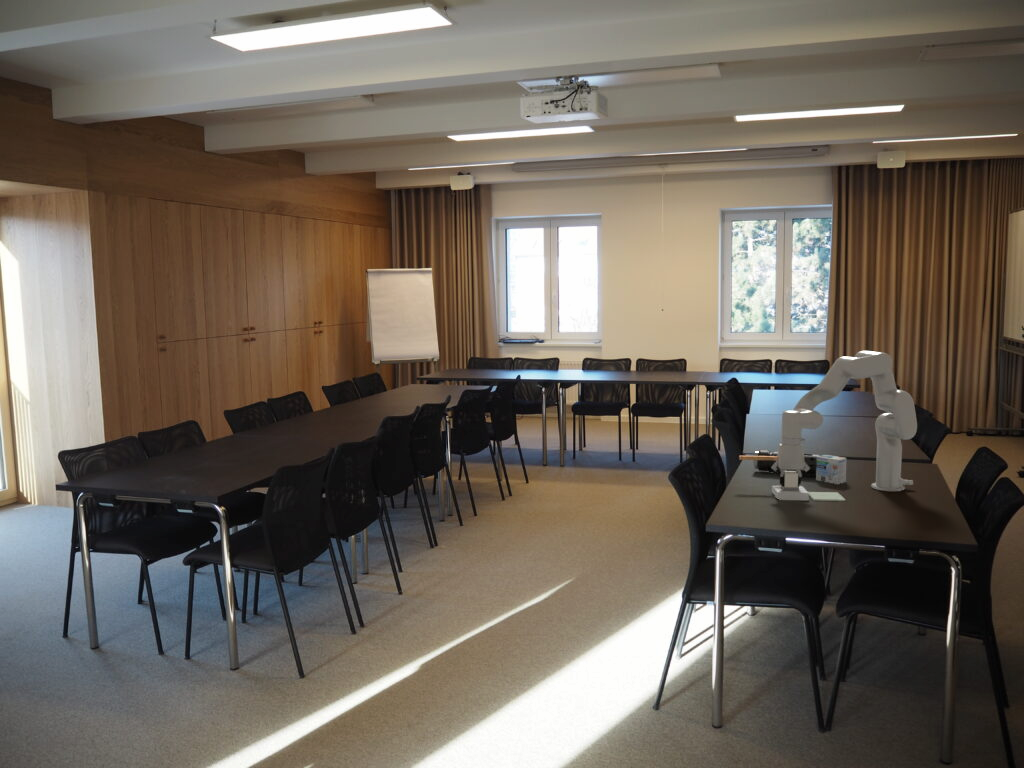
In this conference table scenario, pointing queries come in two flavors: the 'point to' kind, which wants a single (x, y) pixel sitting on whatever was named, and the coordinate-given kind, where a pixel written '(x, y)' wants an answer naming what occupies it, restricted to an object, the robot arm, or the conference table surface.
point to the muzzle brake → (766, 466)
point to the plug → (790, 481)
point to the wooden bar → (757, 457)
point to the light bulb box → (831, 469)
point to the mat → (826, 496)
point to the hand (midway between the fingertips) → (790, 485)
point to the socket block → (790, 493)
